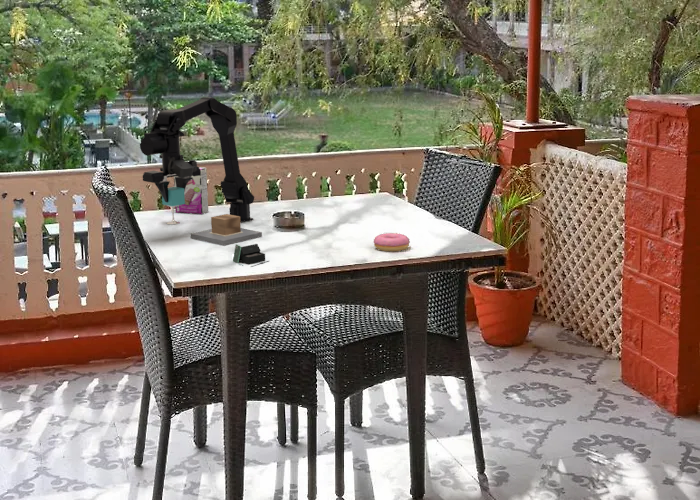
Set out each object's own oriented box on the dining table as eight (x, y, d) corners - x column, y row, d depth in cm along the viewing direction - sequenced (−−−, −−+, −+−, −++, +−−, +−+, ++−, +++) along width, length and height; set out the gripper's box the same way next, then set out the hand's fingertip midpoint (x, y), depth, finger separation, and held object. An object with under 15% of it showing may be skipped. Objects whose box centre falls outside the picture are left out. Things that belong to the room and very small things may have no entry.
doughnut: (398, 243, 295) (398, 229, 294) (416, 250, 285) (416, 236, 284) (367, 246, 290) (367, 233, 289) (384, 254, 280) (384, 240, 279)
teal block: (175, 202, 305) (174, 186, 304) (184, 204, 302) (184, 188, 301) (162, 204, 302) (161, 188, 300) (172, 206, 298) (171, 190, 297)
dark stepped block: (256, 253, 284) (255, 235, 283) (288, 262, 273) (287, 243, 272) (214, 262, 274) (214, 243, 273) (246, 271, 263) (245, 252, 262)
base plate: (229, 229, 315) (228, 224, 314) (261, 236, 304) (261, 231, 304) (190, 238, 303) (190, 232, 303) (223, 245, 293) (223, 240, 292)
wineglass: (174, 225, 322) (172, 190, 319) (161, 223, 325) (159, 189, 322) (185, 222, 327) (183, 188, 324) (173, 220, 330) (171, 186, 327)
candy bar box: (174, 213, 344) (172, 168, 340) (181, 210, 348) (179, 166, 344) (202, 214, 340) (200, 169, 336) (209, 212, 345) (207, 167, 341)
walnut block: (227, 229, 308) (226, 214, 307) (240, 231, 303) (240, 216, 302) (211, 232, 303) (211, 217, 302) (225, 235, 299) (224, 219, 298)
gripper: (162, 157, 286) (165, 208, 290) (210, 150, 299) (212, 199, 303) (140, 154, 293) (143, 204, 297) (188, 147, 307) (190, 195, 310)
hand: (173, 200), depth 302 cm, fingers closed on teal block, 5 cm apart
